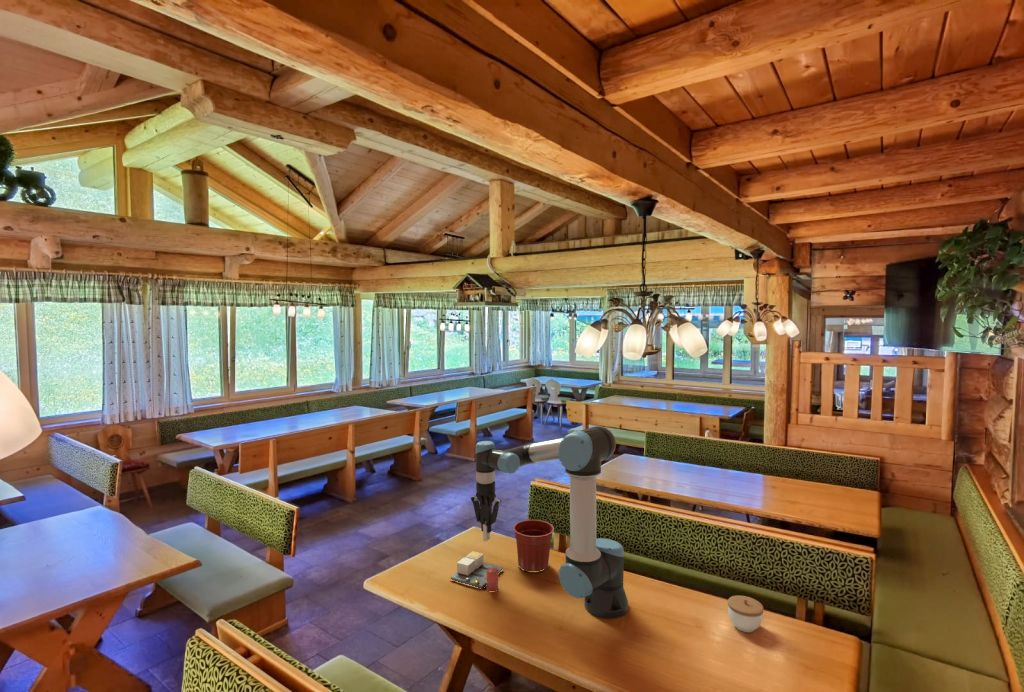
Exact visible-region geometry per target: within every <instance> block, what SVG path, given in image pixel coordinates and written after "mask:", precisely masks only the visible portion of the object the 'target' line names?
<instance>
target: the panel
mask: <svg viewBox="0 0 1024 692" xmlns="http://www.w3.org/2000/svg"><path fill="white" fill-rule="evenodd" d="M489 568H496V569H498V573H499V572H500V571H501V570H502V569H503V570H504V567H503V566H498V565H496V564H492V563H488V562H484V561H483V564H482V565H481V566H480V567H479V568H477V569H475V570H474V571H473V572H472V573H470V574H469V575H464V574H461V573H457V572H455V573H454V574H453V575H451V576H450V580H451V579H452V580H455V581H458V582H461V583H465V584H469V585H472V586H475V587H478V588H481V589H482V588H484V587H485V586H486V585H487V569H489ZM486 587H487V586H486ZM486 587H485V588H486ZM485 588H484V589H485Z"/></svg>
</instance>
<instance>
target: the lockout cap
mask: <svg viewBox="0 0 1024 692" xmlns="http://www.w3.org/2000/svg"><path fill="white" fill-rule="evenodd" d="M497 589H498V590H499V575H498V569H496V568H489V569H487V586H486V591H487V590H488V591H487V592H489V591H496V590H497ZM496 592H497V591H496Z"/></svg>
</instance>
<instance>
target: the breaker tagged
mask: <svg viewBox="0 0 1024 692" xmlns="http://www.w3.org/2000/svg"><path fill="white" fill-rule="evenodd" d="M465 558H469V559H473V560H475V569H477V568H479V567H480V566H481V565H482V564H483V562H484V553H481V552H477V551H474V550H472V551H471V552H470V553H469V554H467V555H466V556H465Z"/></svg>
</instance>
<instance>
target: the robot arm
mask: <svg viewBox="0 0 1024 692" xmlns="http://www.w3.org/2000/svg"><path fill="white" fill-rule="evenodd" d="M616 446H617V442H616V438H615V435H614V433H613V432H612V431H611V430H609V429H608V428H607V427H605V426H601V425H600V426H598V425H597V426H592V427H588V428H584V429H581V430H575V431H571V432H570V433H569V434H566V435H565V436H563V437H560V438H555V439H551V440H545V441H540V442H535V443H532V442H531V443H526V444H524V445H519V446H517V447H513V448H509V449H506V450H499V449H497V448H496V445H495V443H494V441H491V440H482V441H478V442H477V443H476V444H475V452H474V454H475V482H476V483H475V490H476V493H475V495H473V496H471V497H470V500H471V502H472V505H473V509H474V515H475V519H476V522H478V523H480V525H481V532H482V541H483V542H488V541H489V540H490V539H491V532H492V525H493V524H495V523H496V522H497V517H498V513H499V507H500V505H501V503H502V499H498V498H497V495H496V481H495V480H496V471H499V472H502V473H505V474H514V473H516V472H517V471H518V470H519V468H520V467H523V466H524V467H525V466H527V465H532V464H538V463H545V462H549V461H558V460H559V462H560V463H561V465H562V466H563V467H564V470H565V471H564V472H565V473H566V474H567V475H568V476H569V547H567V549H566V550H565V561H564V563H563V564H561V566H560V568H559V569H558V580H559V583H560V584H561V586H562V587H563V589H564V591H566V593H567V594H569V595H570V596H571V597H573V598H575V599H584V601H583V602H584V603H583V604H584V608H585V609H586V610H587V612H588V613H590V614H592V615H594V616H596V617H598V618H603V619H616V618H621V617H623V616H624V615H626V614H627V613H628V610H629V600H628V597H627V595H626V590H625V588H624V573H625V572H624V571H625V570H624V567H625V565H624V564H625V551H624V546H623V545H622V544H621V543H619V542H618V541H616V540H613V539H609V538H603V537H602V538H599V537H598V538H597V477H599V476H600V475H601V473H602V462H604V461H606V460H608V459H609V458H610V457H612V456H613V454H615V453H614V452H615V451H616Z"/></svg>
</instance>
